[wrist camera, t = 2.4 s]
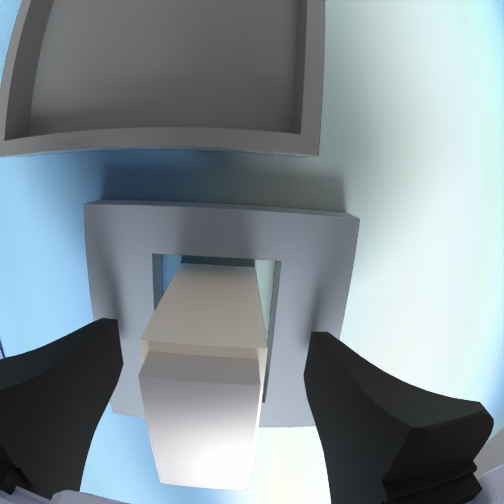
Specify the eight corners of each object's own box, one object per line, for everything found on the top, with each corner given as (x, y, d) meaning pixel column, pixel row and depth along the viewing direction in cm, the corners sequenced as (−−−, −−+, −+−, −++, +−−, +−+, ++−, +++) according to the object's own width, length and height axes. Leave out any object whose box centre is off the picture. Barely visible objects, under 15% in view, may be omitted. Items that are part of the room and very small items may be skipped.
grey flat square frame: (121, 394, 14) (113, 412, 13) (100, 199, 12) (84, 204, 10) (311, 406, 15) (317, 425, 14) (346, 212, 12) (359, 219, 11)
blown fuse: (183, 364, 14) (155, 486, 7) (181, 262, 13) (127, 363, 6) (247, 368, 14) (253, 493, 7) (255, 267, 13) (271, 374, 6)
